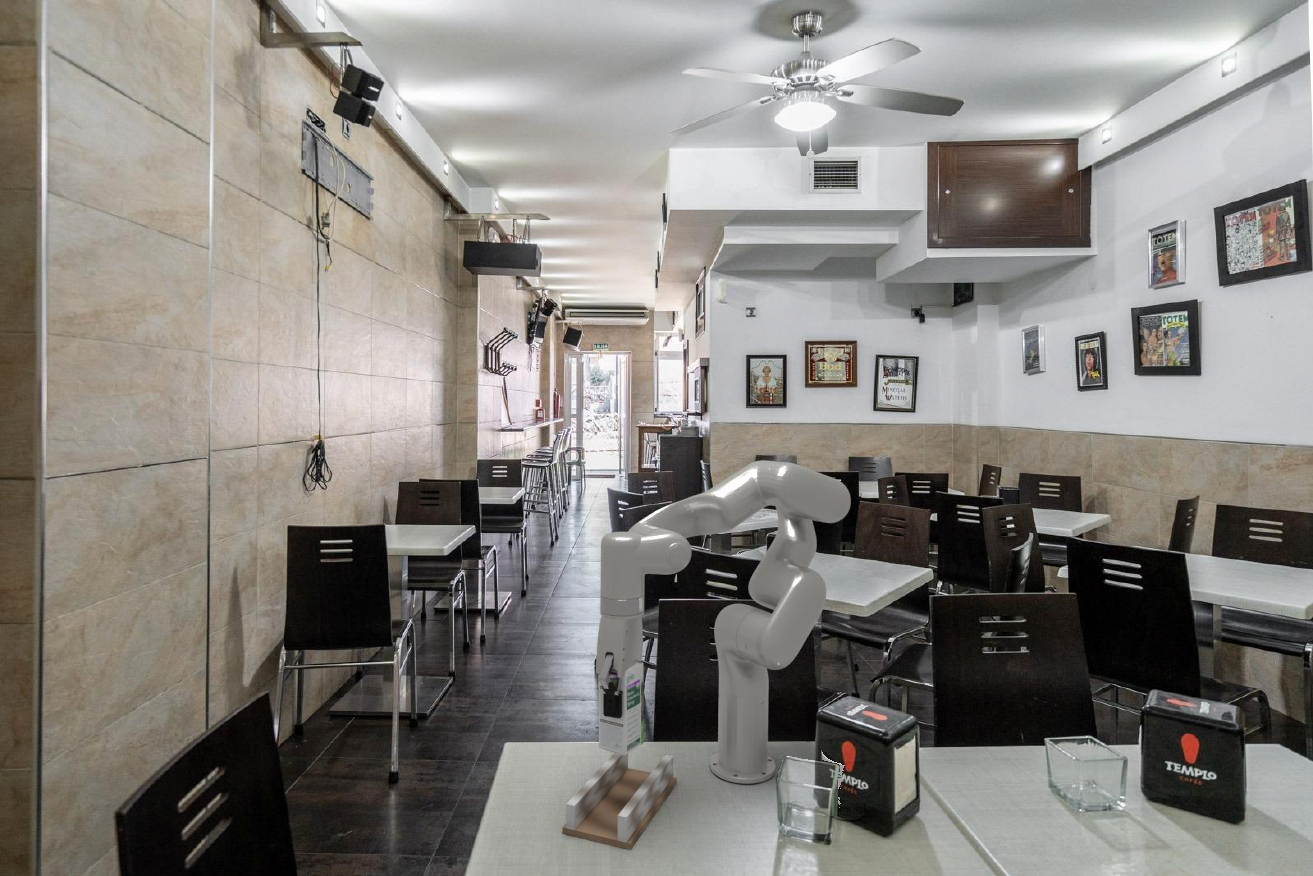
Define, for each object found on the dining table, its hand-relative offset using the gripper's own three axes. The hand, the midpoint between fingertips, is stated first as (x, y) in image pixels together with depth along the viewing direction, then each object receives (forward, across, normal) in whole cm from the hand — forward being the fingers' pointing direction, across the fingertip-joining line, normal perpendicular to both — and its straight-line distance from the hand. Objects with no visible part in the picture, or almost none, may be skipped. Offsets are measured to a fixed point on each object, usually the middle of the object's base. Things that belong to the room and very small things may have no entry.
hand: (621, 707), depth 123 cm
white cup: (+18, -14, +36) cm, 43 cm away
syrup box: (+7, 0, 0) cm, 7 cm away
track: (+18, -1, 0) cm, 18 cm away
